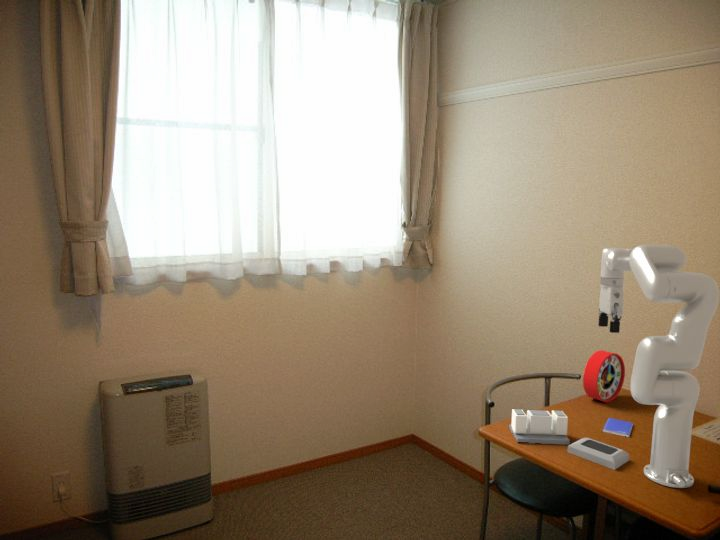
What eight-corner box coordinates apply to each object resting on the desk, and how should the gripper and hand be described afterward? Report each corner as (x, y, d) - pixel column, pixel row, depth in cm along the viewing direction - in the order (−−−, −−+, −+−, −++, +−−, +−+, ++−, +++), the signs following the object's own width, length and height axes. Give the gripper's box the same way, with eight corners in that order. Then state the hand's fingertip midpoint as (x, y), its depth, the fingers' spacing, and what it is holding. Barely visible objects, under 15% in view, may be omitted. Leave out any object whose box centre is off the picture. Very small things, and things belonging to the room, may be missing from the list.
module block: (551, 433, 179) (552, 415, 178) (530, 432, 179) (530, 415, 179) (546, 427, 184) (547, 410, 183) (526, 426, 184) (527, 409, 184)
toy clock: (594, 406, 210) (598, 357, 208) (581, 402, 215) (584, 353, 213) (623, 397, 221) (626, 350, 219) (610, 393, 226) (613, 347, 224)
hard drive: (629, 434, 182) (633, 422, 192) (603, 428, 186) (608, 417, 197) (628, 438, 182) (632, 426, 192) (602, 433, 186) (608, 421, 197)
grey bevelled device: (582, 434, 176) (629, 450, 165) (582, 445, 176) (628, 461, 165) (567, 442, 170) (615, 459, 158) (567, 453, 170) (614, 471, 159)
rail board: (569, 444, 176) (570, 420, 175) (517, 442, 176) (518, 418, 176) (558, 429, 187) (559, 406, 186) (509, 428, 188) (510, 405, 187)
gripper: (633, 286, 181) (630, 335, 183) (612, 279, 199) (609, 324, 201) (611, 285, 182) (607, 334, 184) (591, 279, 199) (588, 323, 201)
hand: (608, 329), depth 192 cm, fingers open, 9 cm apart
